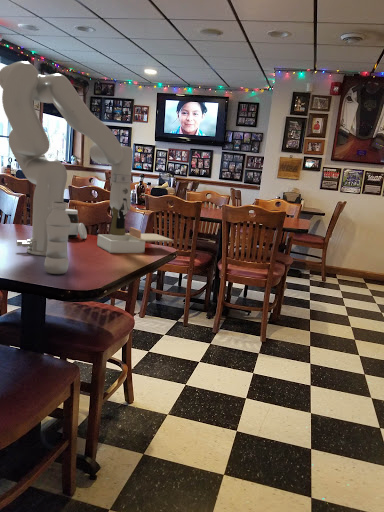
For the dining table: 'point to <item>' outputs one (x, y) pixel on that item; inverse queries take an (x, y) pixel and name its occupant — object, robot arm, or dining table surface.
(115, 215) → the olive pepper mill
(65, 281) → the dining table surface
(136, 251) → the mailer box
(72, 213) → the spread jar
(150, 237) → the lid
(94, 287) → the dining table surface
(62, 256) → the plastic bottle
